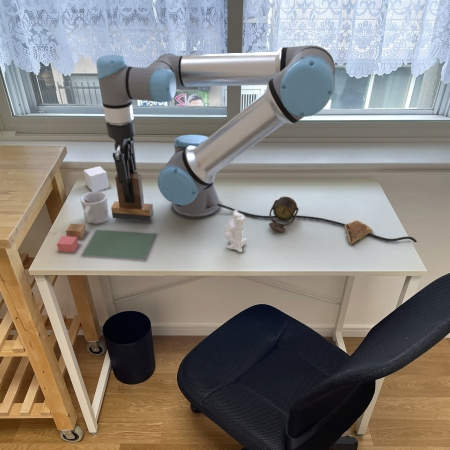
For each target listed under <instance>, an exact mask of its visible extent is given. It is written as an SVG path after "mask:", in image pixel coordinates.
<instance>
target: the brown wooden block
mask: <svg viewBox="0 0 450 450" xmlns="http://www.w3.org/2000/svg"><path fill="white" fill-rule="evenodd" d="M114 180H115V186H116V192H117V193H116V194H117V199H118V200H117V201H116V200H115V201H114V202H113V203H112V205H111V207H110V209H111V215H112V219H115V220H117V219H118V220H128V221H140V222H141V221H142V222H151V221H152V219H153V217H154V208H153V207H154V206H153V203H145V199H144V189H143V188H144V187H143V180H142V174H141V173H138V174H131V173H130V182H132V188H133V194H134V201H135V202H134V203H125V198H124V192H123V186H122V184H119V180H118V175H117V174H116V175H115V176H114Z"/></svg>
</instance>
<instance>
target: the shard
mask: <svg viewBox="0 0 450 450" xmlns="http://www.w3.org/2000/svg"><path fill="white" fill-rule="evenodd" d="M344 224H345V226H344V228H345V230H346V233H347V239H348V241H349V243H350V245H353V244H355V243H356V242H357V241H359V240H360V239H362V238H364V237H365V236H367V235H368V233H372V232H373V229H372V228H371V227H370V226H369V225H367V224H365V223H363V222H361V221H359V220H353V221H351V222H349V223H344Z"/></svg>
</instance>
